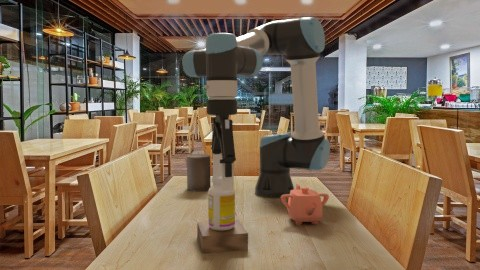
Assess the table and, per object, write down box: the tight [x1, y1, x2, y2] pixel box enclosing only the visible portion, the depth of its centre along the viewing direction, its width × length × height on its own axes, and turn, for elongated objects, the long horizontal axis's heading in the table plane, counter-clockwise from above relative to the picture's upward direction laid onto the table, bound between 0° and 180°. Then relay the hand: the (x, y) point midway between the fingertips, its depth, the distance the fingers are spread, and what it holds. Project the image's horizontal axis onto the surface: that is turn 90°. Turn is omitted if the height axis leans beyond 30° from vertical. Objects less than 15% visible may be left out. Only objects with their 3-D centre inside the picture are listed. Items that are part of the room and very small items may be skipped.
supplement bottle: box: [207, 175, 236, 231], centre depth 99 cm, size 7×7×13 cm
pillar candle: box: [186, 152, 212, 192], centre depth 161 cm, size 10×10×15 cm
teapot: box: [280, 183, 330, 226], centre depth 118 cm, size 14×12×10 cm
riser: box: [196, 219, 249, 254], centre depth 100 cm, size 11×11×4 cm
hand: (222, 184), depth 99 cm, fingers open, 13 cm apart
